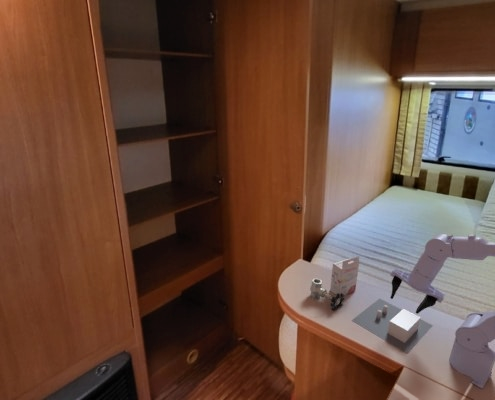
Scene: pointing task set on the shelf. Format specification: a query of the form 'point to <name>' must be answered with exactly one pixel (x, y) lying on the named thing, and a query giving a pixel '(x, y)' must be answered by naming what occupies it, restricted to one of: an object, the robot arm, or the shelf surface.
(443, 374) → the shelf surface
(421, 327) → the board
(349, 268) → the ink cartridge box
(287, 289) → the shelf surface
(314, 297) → the valve
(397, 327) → the block
